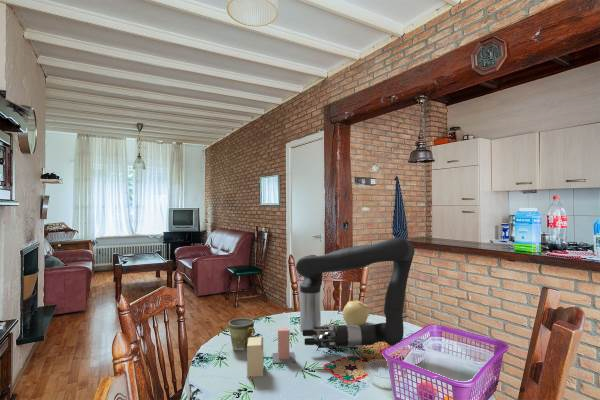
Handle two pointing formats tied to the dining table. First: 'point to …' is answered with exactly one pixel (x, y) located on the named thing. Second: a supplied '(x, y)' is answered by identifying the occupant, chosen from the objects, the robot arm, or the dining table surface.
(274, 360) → the felt pad
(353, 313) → the round fruit
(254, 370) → the block
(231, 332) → the ceramic cup
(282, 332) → the stub
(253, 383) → the dining table surface
